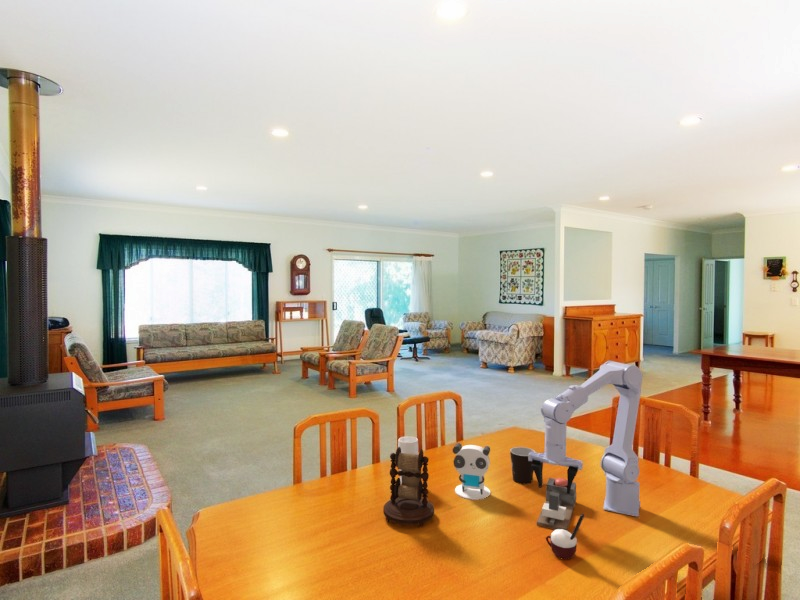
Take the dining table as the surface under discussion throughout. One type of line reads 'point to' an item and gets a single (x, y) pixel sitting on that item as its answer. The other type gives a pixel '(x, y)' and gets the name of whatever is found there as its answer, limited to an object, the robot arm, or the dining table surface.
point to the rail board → (564, 501)
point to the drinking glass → (408, 446)
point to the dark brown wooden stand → (408, 490)
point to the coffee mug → (521, 465)
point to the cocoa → (564, 541)
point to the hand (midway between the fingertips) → (554, 489)
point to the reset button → (561, 482)
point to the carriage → (554, 507)
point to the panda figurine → (471, 470)
